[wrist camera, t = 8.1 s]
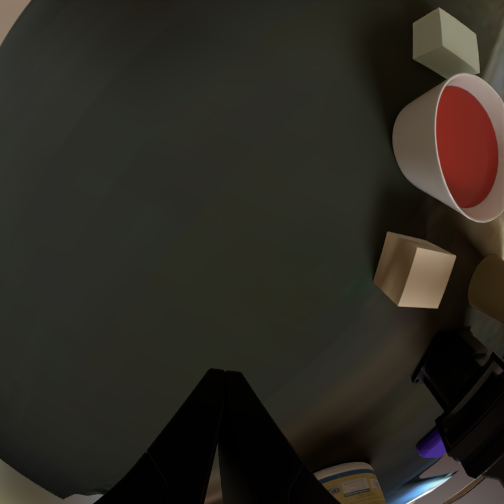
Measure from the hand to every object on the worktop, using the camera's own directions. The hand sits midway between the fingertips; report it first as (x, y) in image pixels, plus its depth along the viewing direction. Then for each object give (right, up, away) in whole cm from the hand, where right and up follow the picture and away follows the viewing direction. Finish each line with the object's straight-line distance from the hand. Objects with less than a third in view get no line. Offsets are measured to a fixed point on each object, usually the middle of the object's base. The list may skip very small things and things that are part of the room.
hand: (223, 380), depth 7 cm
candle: (+14, +11, +10) cm, 21 cm away
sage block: (+15, +20, +7) cm, 26 cm away
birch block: (+12, +3, +12) cm, 18 cm away
